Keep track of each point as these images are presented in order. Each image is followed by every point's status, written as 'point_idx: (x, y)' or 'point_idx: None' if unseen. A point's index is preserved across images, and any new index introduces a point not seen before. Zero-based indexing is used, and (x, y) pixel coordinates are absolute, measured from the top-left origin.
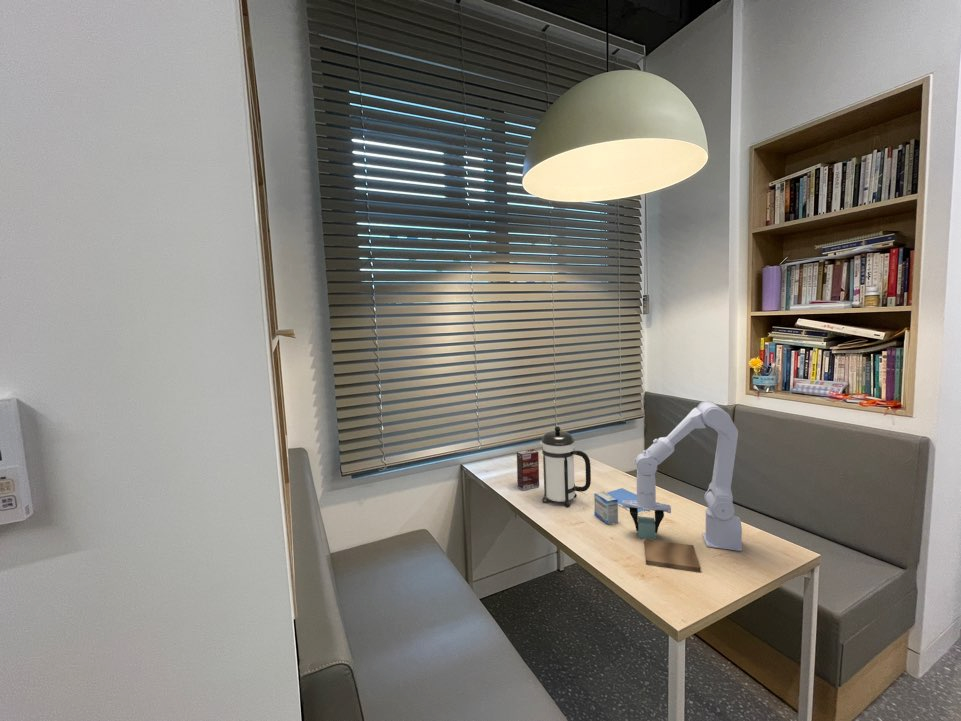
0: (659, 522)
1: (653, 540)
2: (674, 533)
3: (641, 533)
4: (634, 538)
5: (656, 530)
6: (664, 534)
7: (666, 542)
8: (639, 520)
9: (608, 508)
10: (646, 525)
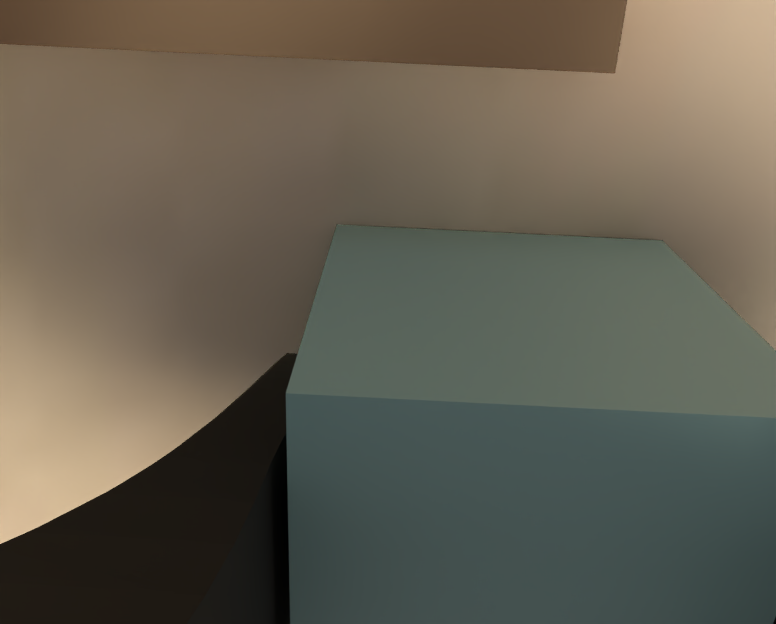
0: (120, 499)
1: (389, 38)
2: (5, 506)
3: (636, 275)
4: (756, 201)
5: (282, 375)
6: (163, 449)
7: (83, 9)
8: (749, 582)
9: None
10: (567, 377)
